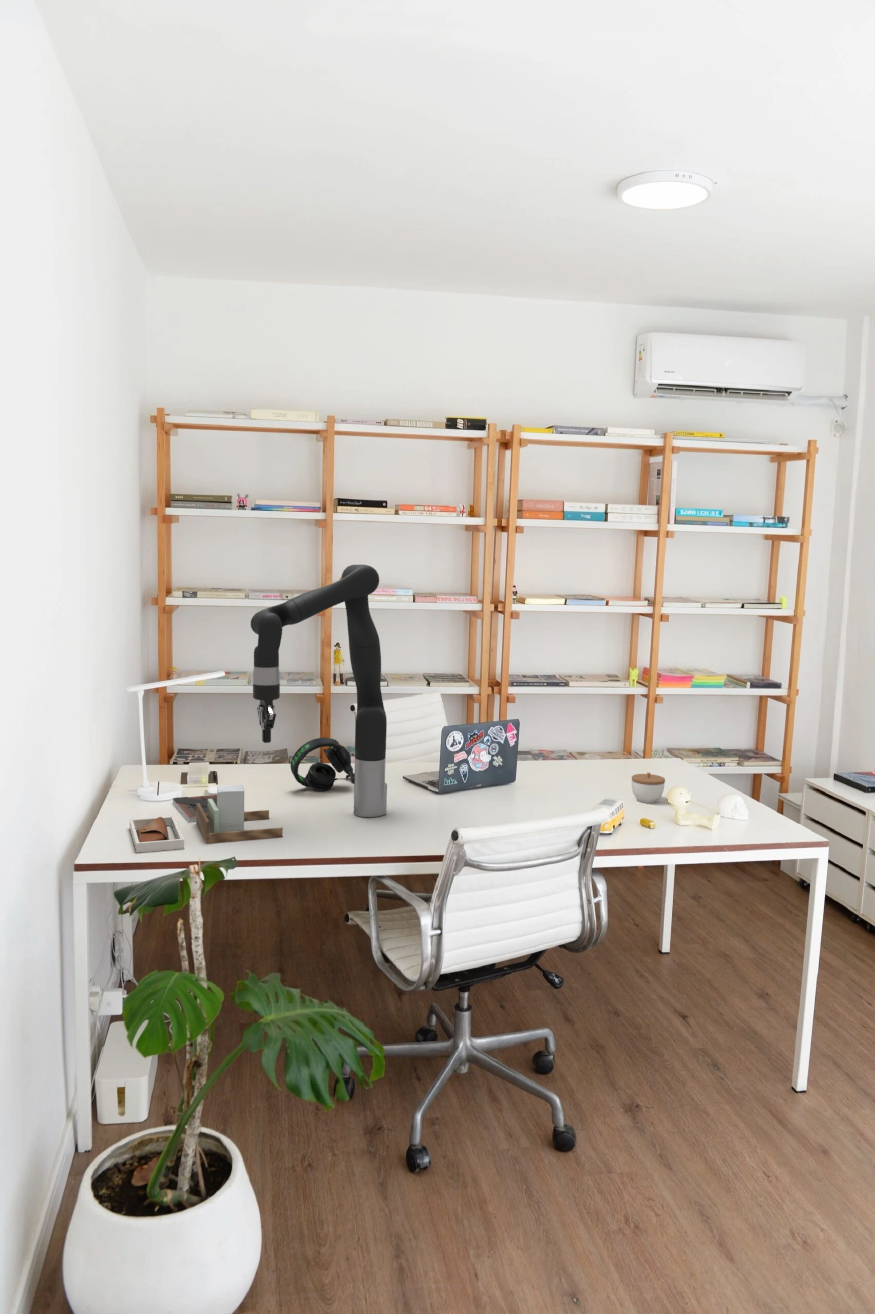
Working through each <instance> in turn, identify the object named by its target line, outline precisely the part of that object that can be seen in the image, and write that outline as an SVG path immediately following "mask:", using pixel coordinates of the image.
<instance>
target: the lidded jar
mask: <svg viewBox="0 0 875 1314" xmlns="http://www.w3.org/2000/svg"><path fill="white" fill-rule="evenodd" d="M665 783H666V779H665V777H664V776H661V775H657V774H652V773H651V772H646V773H636V774H633V775H631V789H632V794H633V796H634V797H635V798H636V799H637V801H639V803H644V804H646V803H647V804H656V802H657V801H658V800H659V799H660V798H661V797H662V795H663V793H664V790H665Z"/></svg>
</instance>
